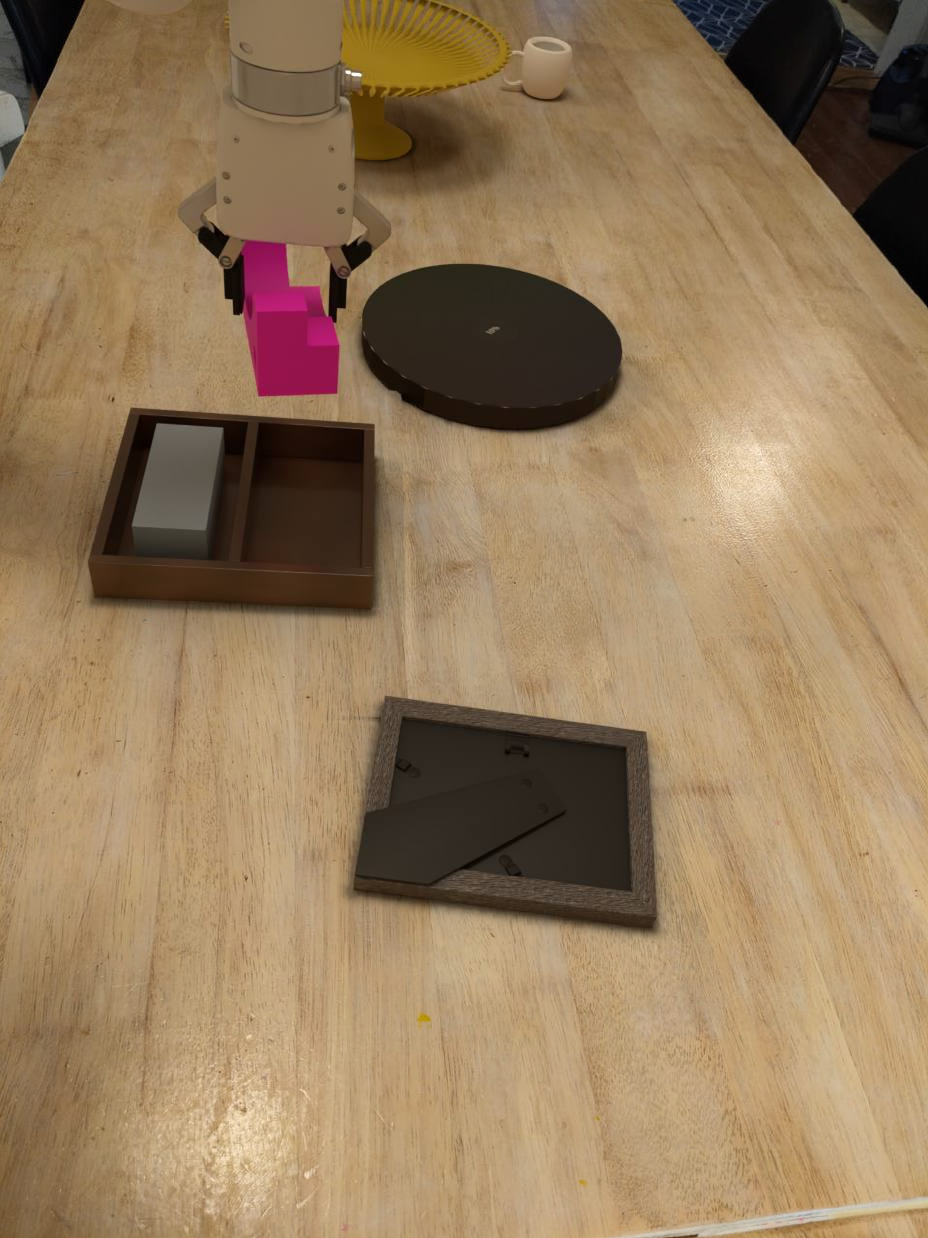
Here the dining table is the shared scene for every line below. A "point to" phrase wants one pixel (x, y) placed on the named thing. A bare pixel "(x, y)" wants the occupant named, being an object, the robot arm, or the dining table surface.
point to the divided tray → (253, 516)
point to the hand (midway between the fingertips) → (286, 308)
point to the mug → (543, 67)
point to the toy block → (286, 327)
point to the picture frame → (510, 813)
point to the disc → (490, 345)
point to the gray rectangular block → (180, 493)
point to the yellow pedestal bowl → (408, 66)
